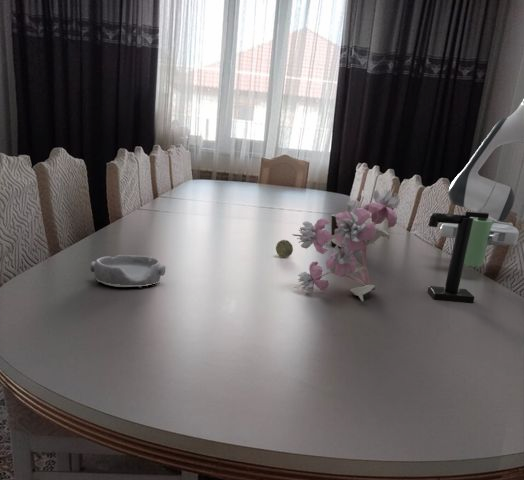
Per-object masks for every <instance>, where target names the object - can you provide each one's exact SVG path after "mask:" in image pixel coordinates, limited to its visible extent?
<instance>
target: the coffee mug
mask: <svg viewBox="0 0 524 480" xmlns="http://www.w3.org/2000/svg"><path fill="white" fill-rule="evenodd" d="M337 214H338V213H334V214H331V219H330V220H331V221H330V222H331V223H330V224H331V226H330V228H331V229H330V234H331V235H334V234H335V229H337V228H338V226H337V223H336V215H337ZM364 223H366V221H365V222H364ZM331 239H332V238H331ZM330 246H331V247H333V248H334V247H335V246H336V244H335V243H333V242H332V240H330ZM337 246H338V245H337ZM338 248H339V249H342V248H344V247H342V248H341V247H339V246H338Z"/></svg>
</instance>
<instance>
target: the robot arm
mask: <svg viewBox="0 0 524 480" xmlns="http://www.w3.org/2000/svg"><path fill="white" fill-rule="evenodd" d="M507 144H524V98H523V99H522V100H521V102H520V104H519V106H518V107H517V108H516V110H515V111H514V112H512V114H510V115H509V116H508V117H501V118H500V119H499V120H498V121H496V123H495V125H494V126H493V127H492V129H491V130H490V131H489V132H488V133H487V135H486V136H485V138H484V139H483V141H482V142H481V143H480V144H479V146H478V147H477V149H476V150H475V152H474V153H473V155H472V156H471V157H470V159H469V160H468V162H467V163H466V165H465V166H464V168H463V169H462V170H461V171H460V172H459V173H458V174H457V175H456V177H454V179H452V181H451V183H450V186H449V188H448V193H447V194H448V197H449V201H450V202H451V203H452V205H454V206H458V207H460V208H461V207H462V208H466V209H468V210H470V211H472V212H486V213H488V214H489V216H488V218H487V220H490V221H492V225H491V230H490V234H489V239H488V243H487V247H488V246H501V247H502V246H508V245H509V246H516V245H517V244H518V239H519V236H520V231H519V229H518V228H517V227H516V226H514V224H513V222H510V221H506V219H507V218H508V216H509V214H510V213H511V210H512V208H513V206H514V203H515V193H514V190H513V188H512V187H511V186H509V185H507V184H504V183H501V182H498V181H495V180H492V179H489V178H487V177H485V176H482V175H480V174H479V171H480V169H481V168H482V167H483V165H484V164H485V163H486V161H487V160H488V159H489V157H490V156H491V155H492V153H493V152H494V151H495V150H496V149H497V148H498V147H500V146H503V145H507ZM470 218H473V219H477V218H478V217H470ZM457 227H458V224H452V223H441V226H440V233H439V236H440V237H442V238H448V239H455V236H456V232H457Z"/></svg>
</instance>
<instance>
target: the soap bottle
mask: <svg viewBox="0 0 524 480" xmlns="http://www.w3.org/2000/svg"><path fill="white" fill-rule="evenodd" d="M479 213H486V212H479ZM491 225H492V221H490V220H487V218H477V219H473V224H472V228H471V233H470V237H469V242H468V247H467V251H466V256H465V260H464V265H463V266H467V267H474V268H481V267H483V264H484V261H485V257H486V256H485V255H486V253H487V247H488V246H487V243H488V239H489V234H490V230H491Z"/></svg>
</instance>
